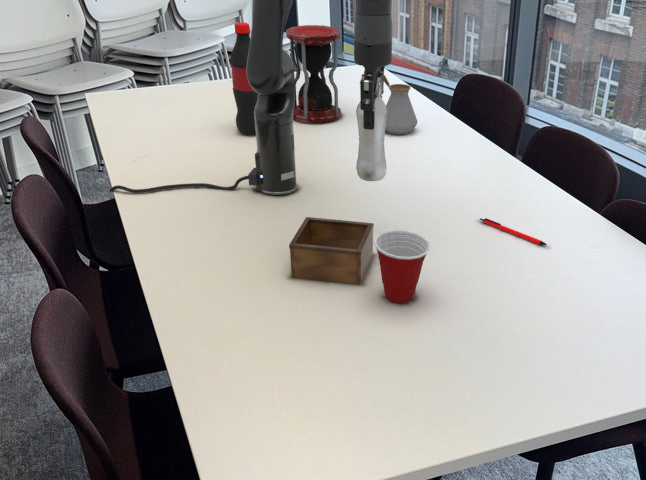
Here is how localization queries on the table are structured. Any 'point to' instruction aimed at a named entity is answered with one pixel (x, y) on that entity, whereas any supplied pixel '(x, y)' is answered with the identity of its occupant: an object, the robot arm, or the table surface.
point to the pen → (512, 231)
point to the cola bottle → (243, 82)
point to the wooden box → (331, 250)
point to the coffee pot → (399, 110)
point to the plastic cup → (400, 263)
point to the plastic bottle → (372, 143)
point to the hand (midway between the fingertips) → (372, 123)
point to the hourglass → (314, 73)
